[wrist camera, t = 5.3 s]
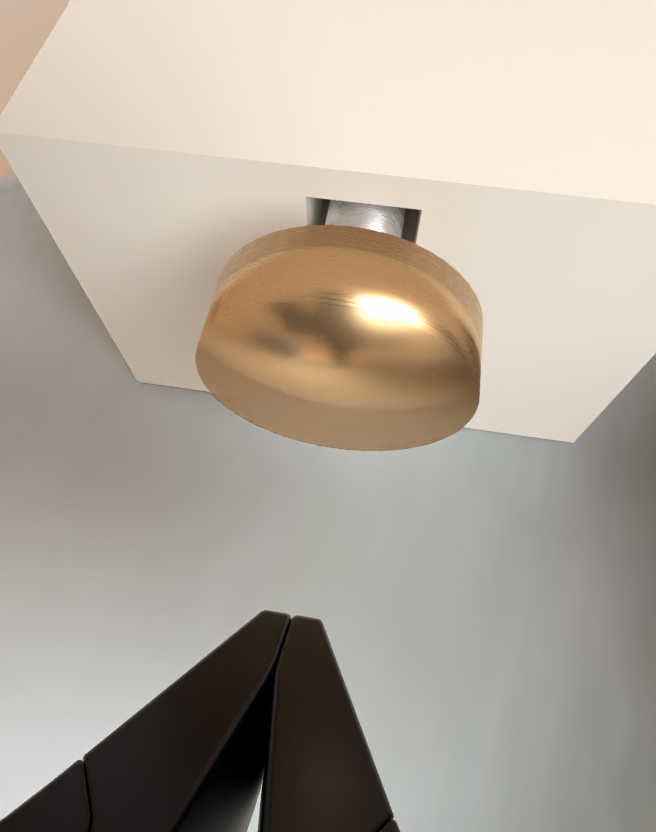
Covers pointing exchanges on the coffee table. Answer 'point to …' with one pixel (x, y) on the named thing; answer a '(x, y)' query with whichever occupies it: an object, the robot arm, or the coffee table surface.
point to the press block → (361, 168)
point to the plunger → (344, 335)
